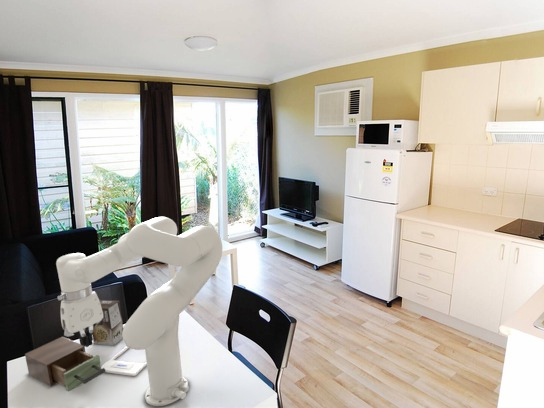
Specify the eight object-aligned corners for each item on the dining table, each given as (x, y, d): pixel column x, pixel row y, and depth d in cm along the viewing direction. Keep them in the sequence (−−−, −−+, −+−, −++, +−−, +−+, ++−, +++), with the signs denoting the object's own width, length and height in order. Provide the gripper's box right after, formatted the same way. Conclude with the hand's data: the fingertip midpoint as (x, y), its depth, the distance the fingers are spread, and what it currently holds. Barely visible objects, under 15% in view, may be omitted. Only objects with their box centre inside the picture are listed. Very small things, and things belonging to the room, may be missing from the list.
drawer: (112, 377, 119) (110, 360, 118) (80, 397, 110) (77, 380, 109) (80, 361, 127) (77, 346, 125) (46, 380, 118) (43, 363, 116)
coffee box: (125, 336, 144) (120, 300, 141) (114, 345, 138) (108, 308, 135) (104, 335, 145) (99, 299, 142) (92, 344, 139) (86, 307, 135)
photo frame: (97, 368, 123) (134, 339, 140) (97, 371, 123) (134, 341, 140) (134, 373, 120) (167, 342, 138) (134, 376, 121) (167, 345, 138)
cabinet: (87, 365, 126) (84, 345, 124) (50, 386, 116) (46, 365, 114) (66, 355, 132) (62, 336, 130) (28, 374, 121) (24, 354, 120)
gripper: (57, 305, 101) (68, 361, 105) (109, 285, 115) (117, 335, 118) (43, 301, 104) (54, 355, 108) (95, 281, 118) (103, 330, 121)
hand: (87, 344), depth 113 cm, fingers closed
